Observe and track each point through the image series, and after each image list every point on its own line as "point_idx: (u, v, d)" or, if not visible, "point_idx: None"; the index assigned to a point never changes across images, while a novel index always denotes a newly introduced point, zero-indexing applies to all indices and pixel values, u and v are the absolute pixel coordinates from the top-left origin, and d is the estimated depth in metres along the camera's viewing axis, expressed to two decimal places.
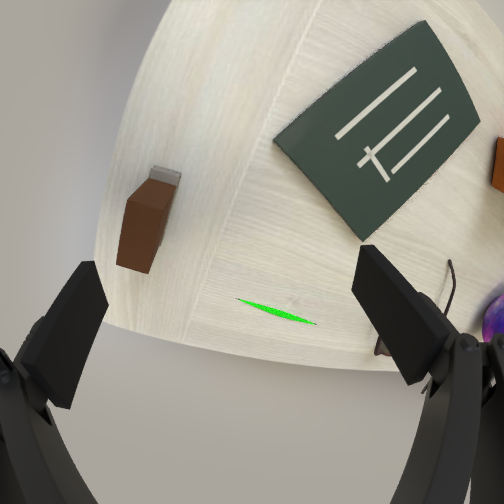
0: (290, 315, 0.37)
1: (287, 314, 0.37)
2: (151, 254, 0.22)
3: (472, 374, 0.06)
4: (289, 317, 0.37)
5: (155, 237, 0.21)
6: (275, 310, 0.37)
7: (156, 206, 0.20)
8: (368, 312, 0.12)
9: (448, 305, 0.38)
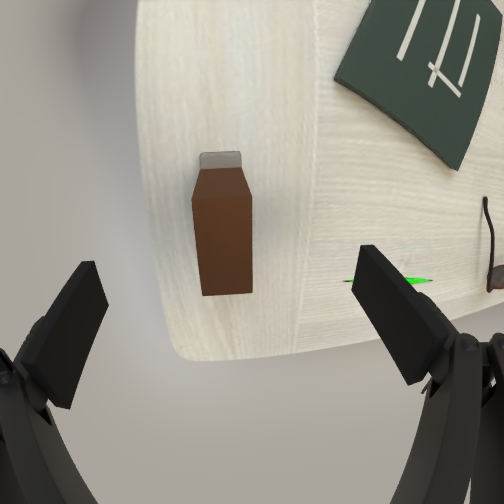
0: None
1: None
2: (250, 264, 0.16)
3: (472, 374, 0.06)
4: None
5: (250, 238, 0.15)
6: None
7: (238, 193, 0.14)
8: (368, 312, 0.12)
9: None
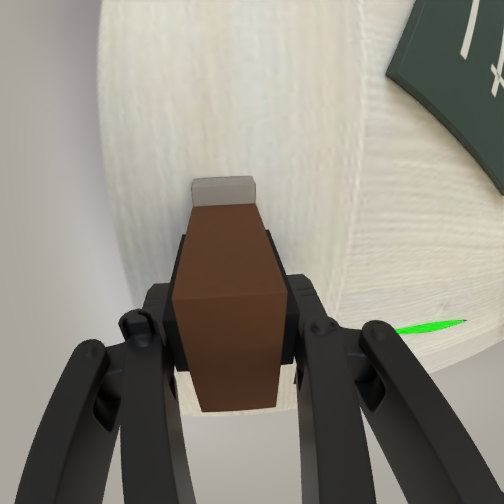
0: (442, 324, 0.22)
1: (438, 324, 0.22)
2: (276, 380, 0.09)
3: (334, 360, 0.07)
4: (441, 327, 0.22)
5: (279, 352, 0.08)
6: (426, 326, 0.22)
7: (261, 285, 0.07)
8: None
9: None
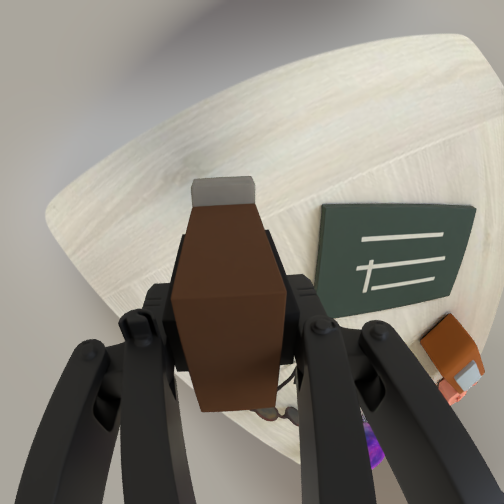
0: None
1: None
2: (276, 380, 0.09)
3: (335, 360, 0.07)
4: None
5: (279, 352, 0.08)
6: None
7: (260, 285, 0.07)
8: None
9: None
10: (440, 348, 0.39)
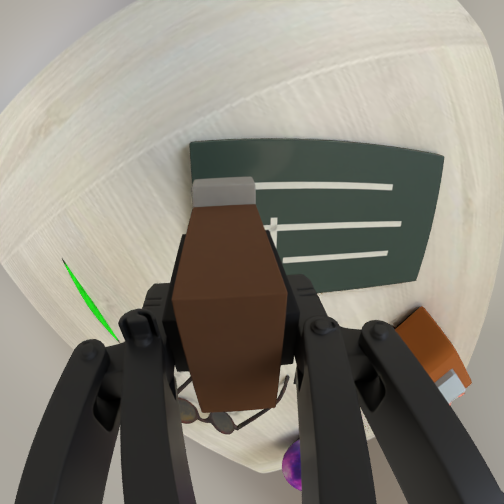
0: (99, 315, 0.30)
1: (97, 312, 0.29)
2: (276, 381, 0.09)
3: (335, 360, 0.07)
4: (97, 316, 0.29)
5: (279, 353, 0.08)
6: (89, 300, 0.28)
7: (261, 286, 0.07)
8: None
9: (260, 413, 0.39)
10: None
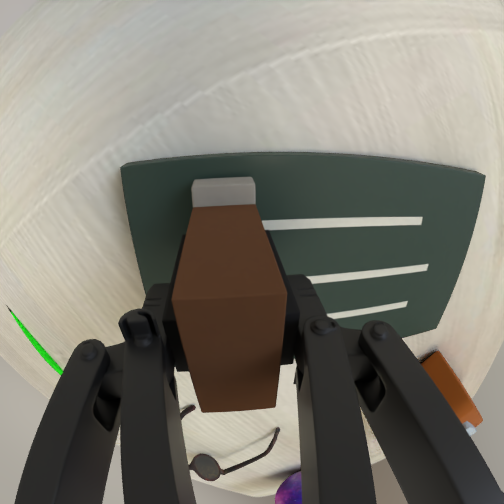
0: (56, 367, 0.22)
1: (53, 364, 0.21)
2: (276, 381, 0.09)
3: (334, 360, 0.07)
4: (54, 368, 0.22)
5: (279, 353, 0.08)
6: (42, 351, 0.20)
7: (261, 285, 0.07)
8: None
9: (248, 462, 0.31)
10: None
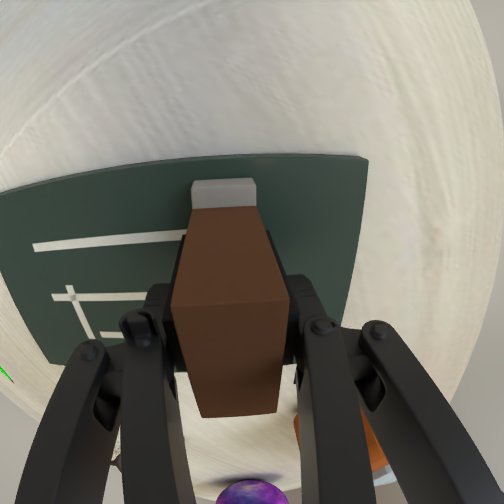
0: None
1: None
2: (277, 387, 0.09)
3: (334, 360, 0.07)
4: None
5: (281, 359, 0.08)
6: None
7: (262, 291, 0.07)
8: None
9: None
10: None
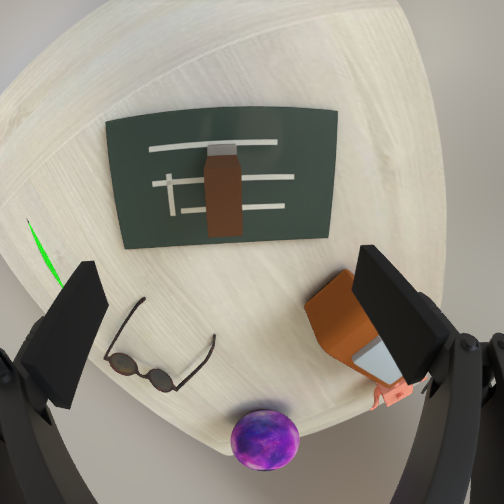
0: (52, 267, 0.34)
1: (50, 264, 0.33)
2: (241, 214, 0.23)
3: (472, 374, 0.06)
4: (50, 268, 0.33)
5: (241, 196, 0.22)
6: (44, 253, 0.32)
7: (233, 166, 0.22)
8: (368, 312, 0.12)
9: (193, 372, 0.43)
10: (324, 312, 0.36)
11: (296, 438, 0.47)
